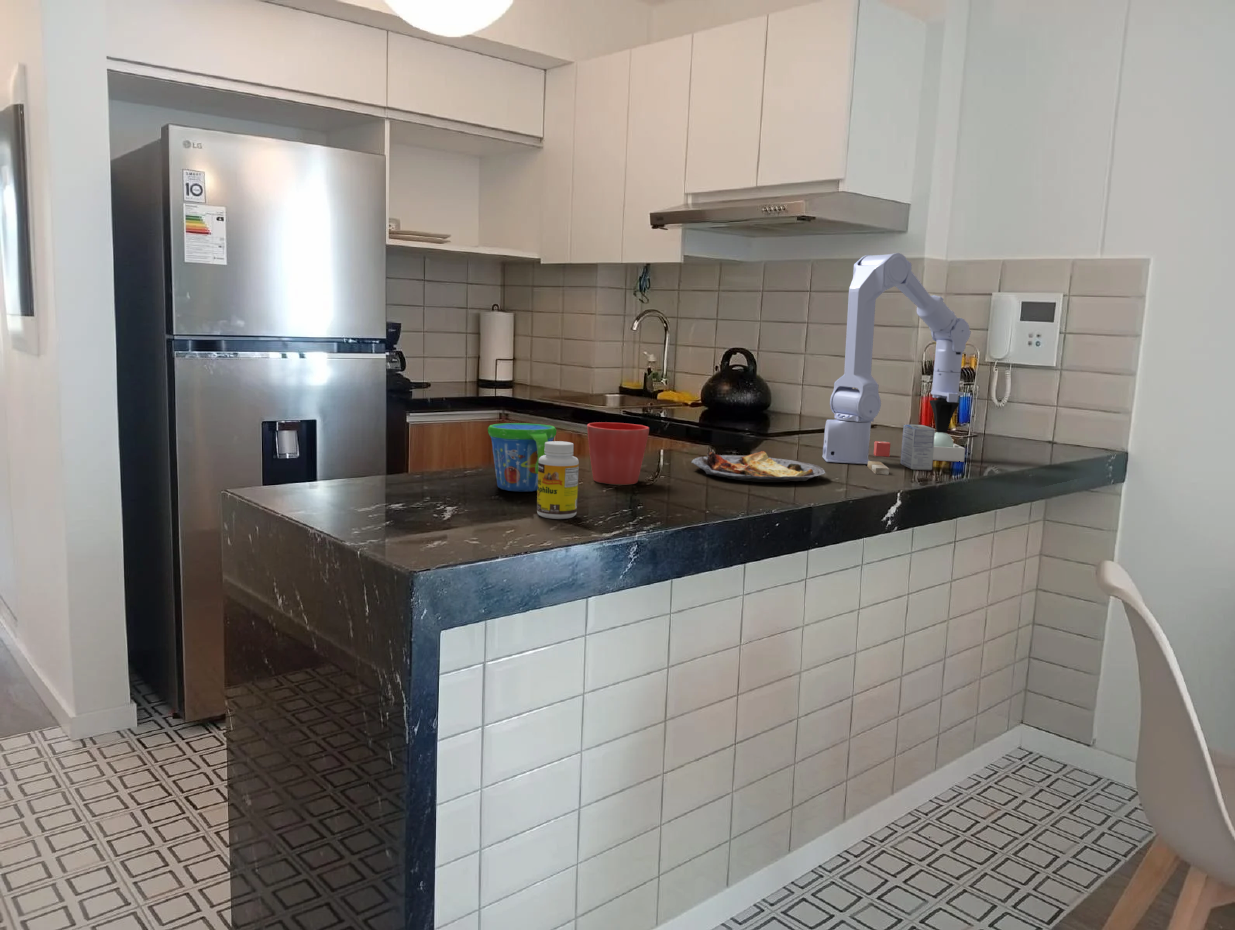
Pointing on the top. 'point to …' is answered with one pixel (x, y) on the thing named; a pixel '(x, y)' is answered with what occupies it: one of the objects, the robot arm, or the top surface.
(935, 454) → the white square frame
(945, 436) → the pale green ball
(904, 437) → the medicine box
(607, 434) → the flower pot
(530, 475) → the snack cup
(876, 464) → the game track
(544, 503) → the supplement bottle
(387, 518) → the top surface
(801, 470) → the food plate
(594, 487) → the top surface
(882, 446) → the red die
